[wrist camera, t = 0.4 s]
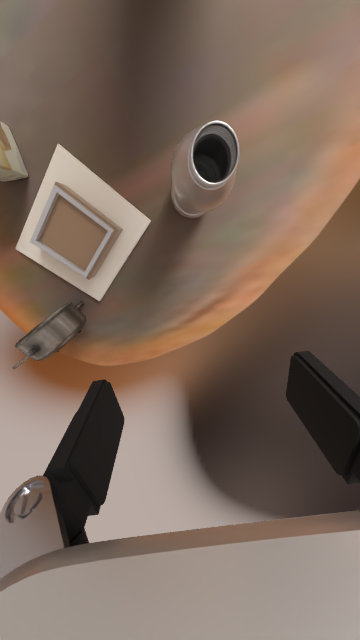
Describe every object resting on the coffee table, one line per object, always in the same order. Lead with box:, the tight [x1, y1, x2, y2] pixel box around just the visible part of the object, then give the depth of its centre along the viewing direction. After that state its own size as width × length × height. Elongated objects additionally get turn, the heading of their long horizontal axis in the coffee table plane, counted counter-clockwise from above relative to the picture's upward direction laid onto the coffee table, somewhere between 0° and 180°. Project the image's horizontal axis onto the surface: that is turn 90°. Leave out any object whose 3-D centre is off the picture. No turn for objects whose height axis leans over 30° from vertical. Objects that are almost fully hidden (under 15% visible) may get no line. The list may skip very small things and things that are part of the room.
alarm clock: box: [13, 301, 86, 369], centre depth 33 cm, size 11×5×16 cm, turn 123°
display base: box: [15, 144, 151, 301], centre depth 32 cm, size 18×16×5 cm
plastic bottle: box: [171, 120, 240, 218], centre depth 23 cm, size 6×7×20 cm
